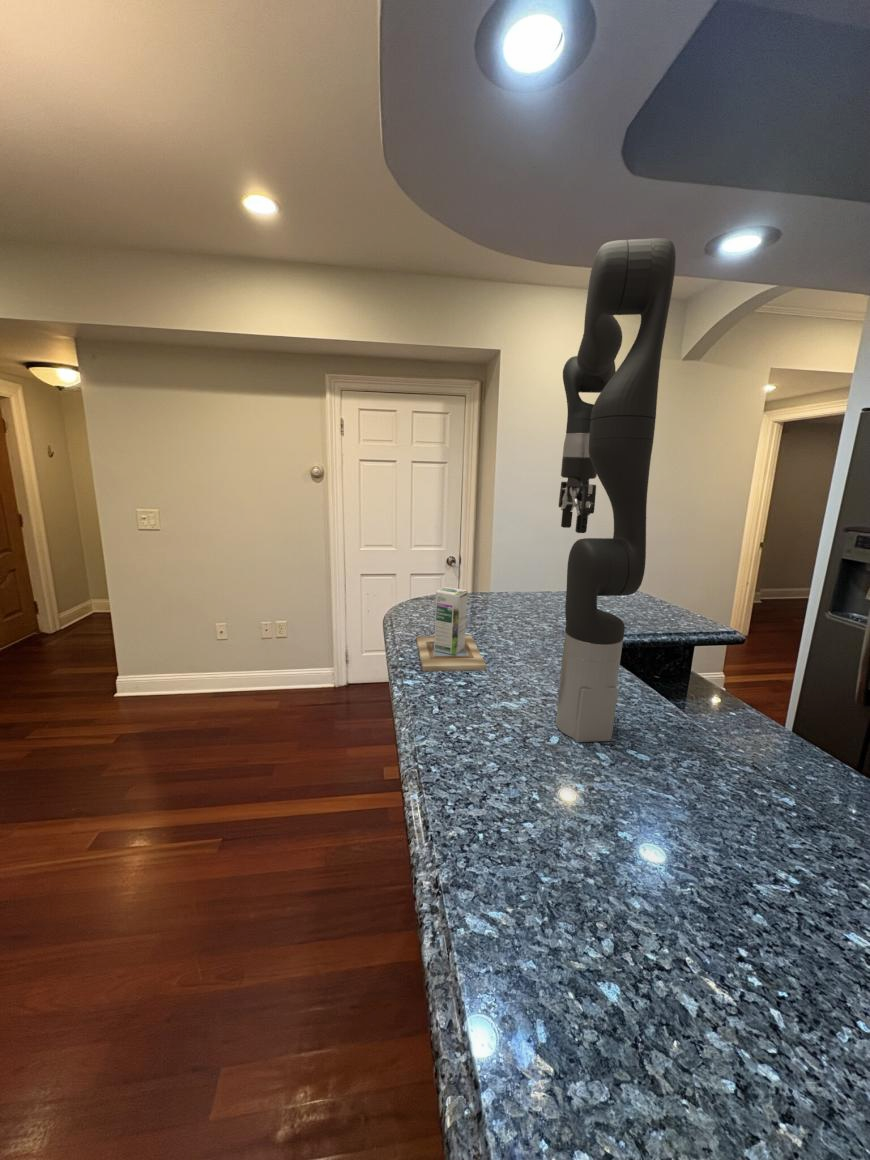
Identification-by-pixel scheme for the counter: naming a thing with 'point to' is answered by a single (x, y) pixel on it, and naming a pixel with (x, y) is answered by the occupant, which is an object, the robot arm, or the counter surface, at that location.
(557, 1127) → the counter surface
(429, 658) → the wooden picture frame
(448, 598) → the syrup box
